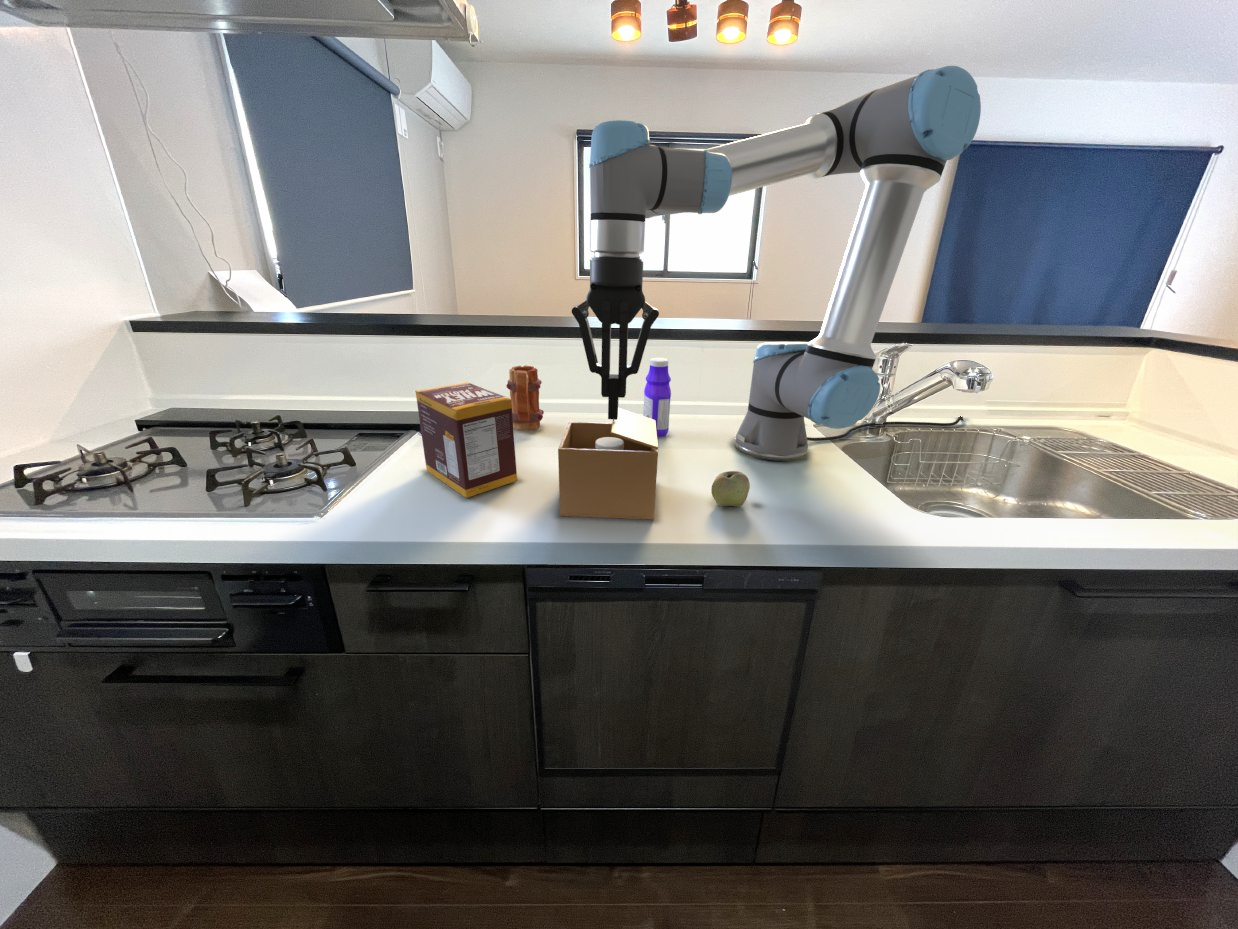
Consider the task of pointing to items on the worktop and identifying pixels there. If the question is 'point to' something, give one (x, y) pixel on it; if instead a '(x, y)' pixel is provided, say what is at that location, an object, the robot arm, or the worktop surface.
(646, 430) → the flap
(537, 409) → the mug
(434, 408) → the supplement box
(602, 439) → the pill bottle
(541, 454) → the worktop surface
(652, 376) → the bottle
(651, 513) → the carton
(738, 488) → the apple
